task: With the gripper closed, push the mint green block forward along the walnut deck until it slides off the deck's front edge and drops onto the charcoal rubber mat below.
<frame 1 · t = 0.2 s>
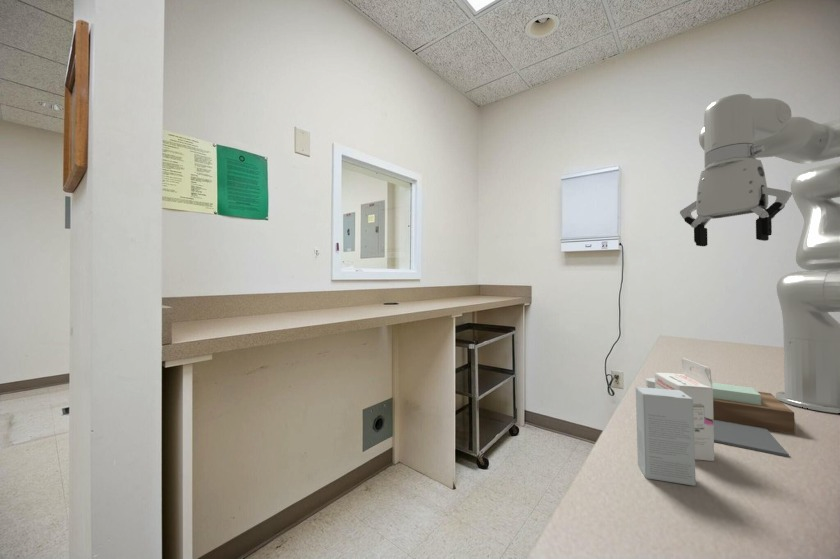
hand: (730, 243, 67), 37 cm above the counter, tool pointing down, fingers open, 9 cm apart
ink cartridge box: (682, 449, 56), on the counter
skincare box: (664, 476, 48), on the counter
deck: (729, 413, 72), on the counter
mat: (727, 433, 62), on the counter
mint green block: (730, 397, 70), point 4 cm above the counter, touching deck
pill bottle: (658, 423, 67), on the counter
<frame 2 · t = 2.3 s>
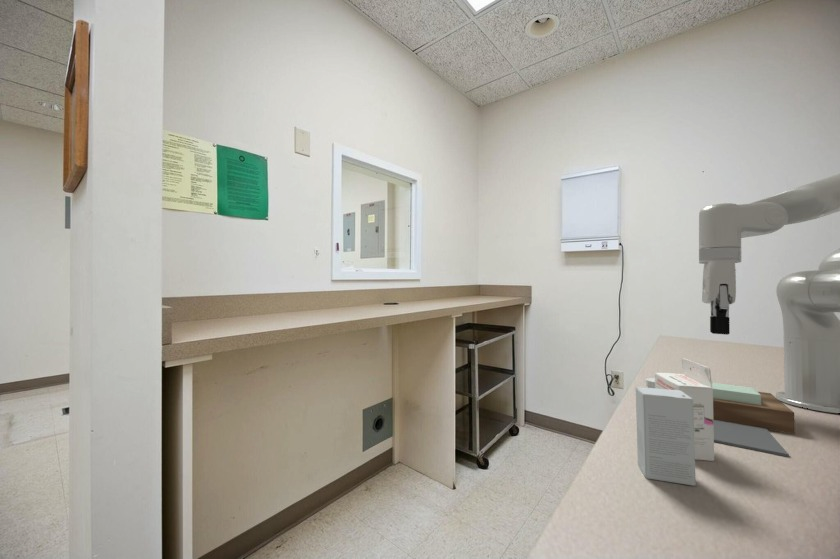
hand: (719, 333, 78), 17 cm above the counter, tool pointing down, fingers closed
nothing on the counter moved.
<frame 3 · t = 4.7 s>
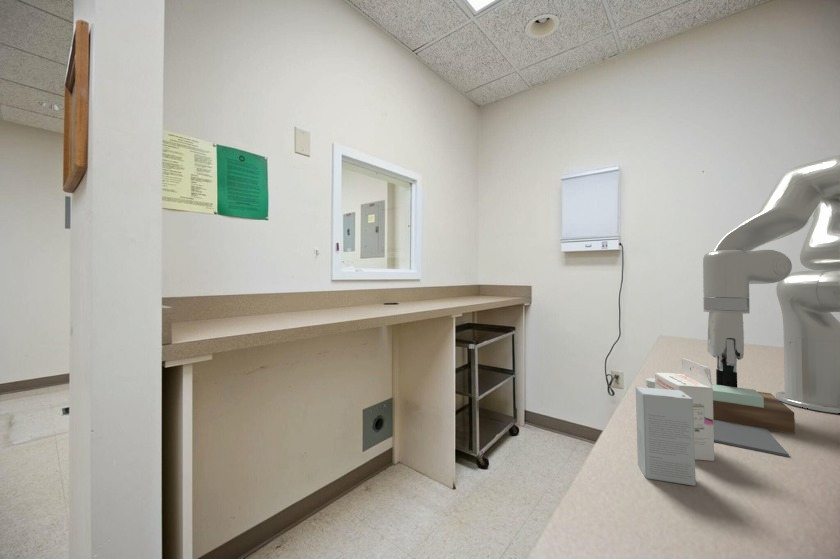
hand: (726, 388, 73), 5 cm above the counter, tool pointing down, fingers closed
mint green block: (732, 399, 69), point 4 cm above the counter, touching deck, gripper
everything else where it was.
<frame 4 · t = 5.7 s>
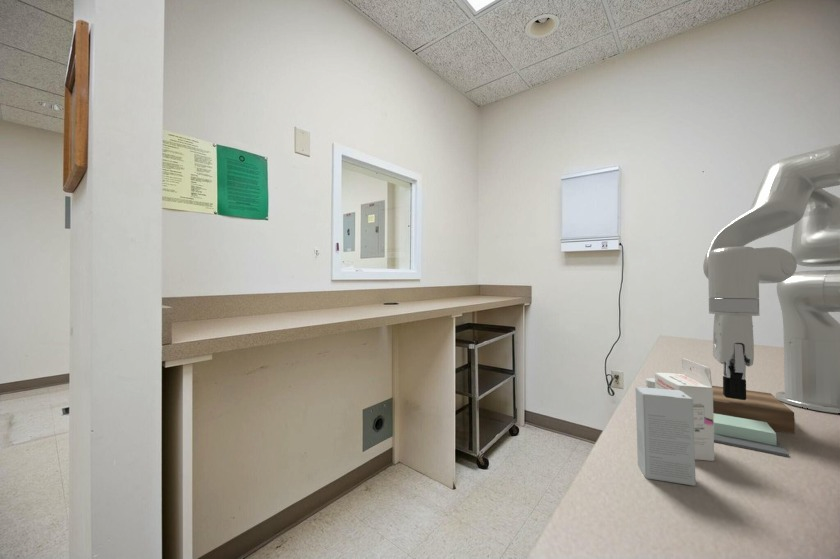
hand: (734, 397, 67), 5 cm above the counter, tool pointing down, fingers closed
mint green block: (740, 422, 61), point 2 cm above the counter, tilted 180°, touching mat
everything else where it was.
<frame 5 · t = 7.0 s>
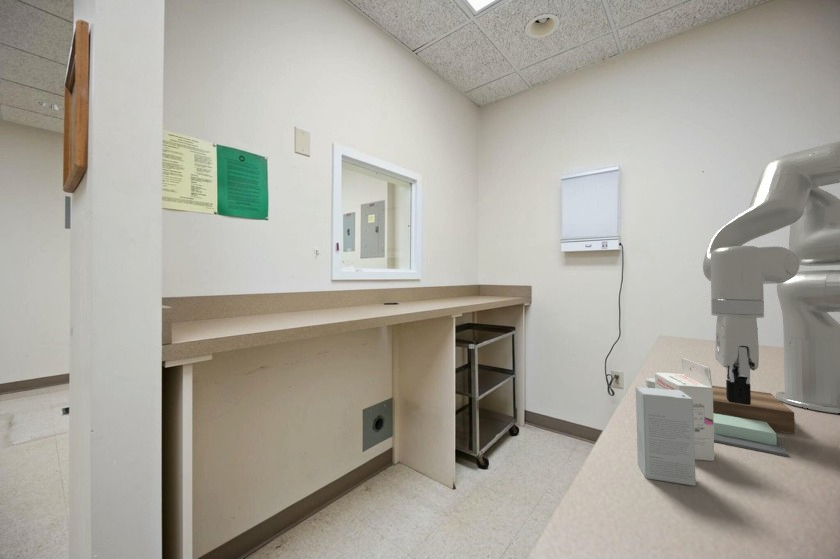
hand: (738, 402, 65), 5 cm above the counter, tool pointing down, fingers closed
nothing on the counter moved.
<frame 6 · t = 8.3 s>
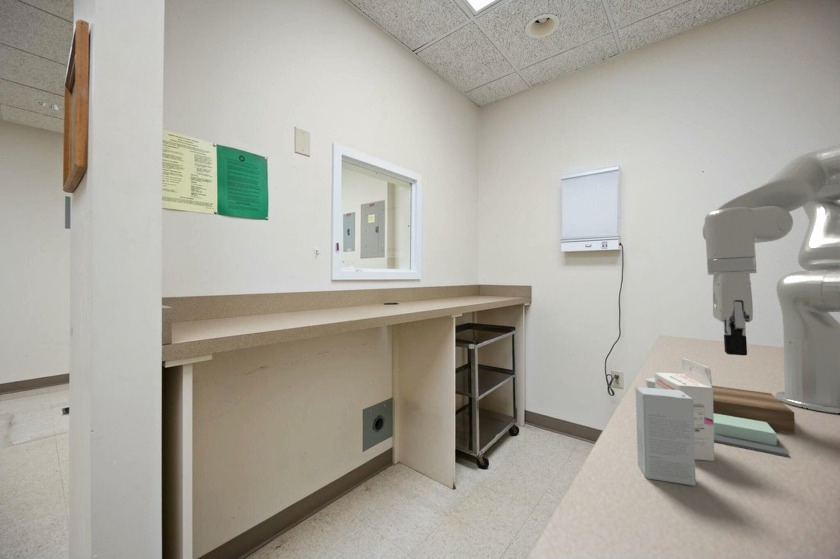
hand: (735, 353, 69), 13 cm above the counter, tool pointing down, fingers closed
nothing on the counter moved.
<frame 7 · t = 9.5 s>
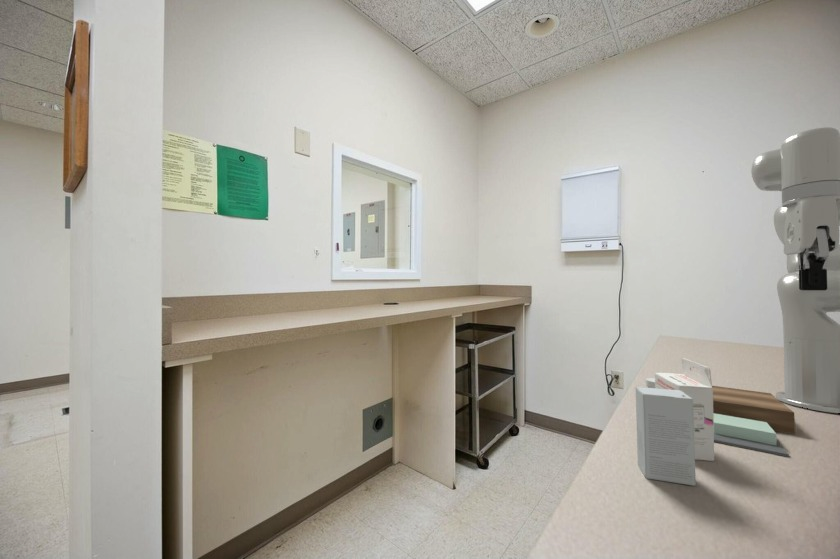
hand: (812, 290, 64), 27 cm above the counter, tool pointing down, fingers closed
nothing on the counter moved.
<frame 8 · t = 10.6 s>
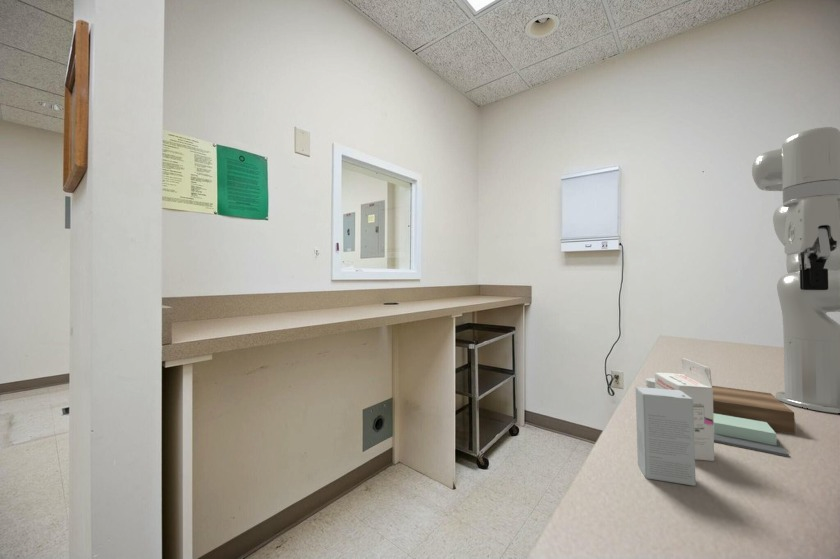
hand: (813, 289, 64), 27 cm above the counter, tool pointing down, fingers closed
nothing on the counter moved.
at the end: mint green block point 2.4 cm above the counter; mint green block inside the target area on the mat (1.9 cm from its centre), point 2.4 cm above the mat's base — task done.
